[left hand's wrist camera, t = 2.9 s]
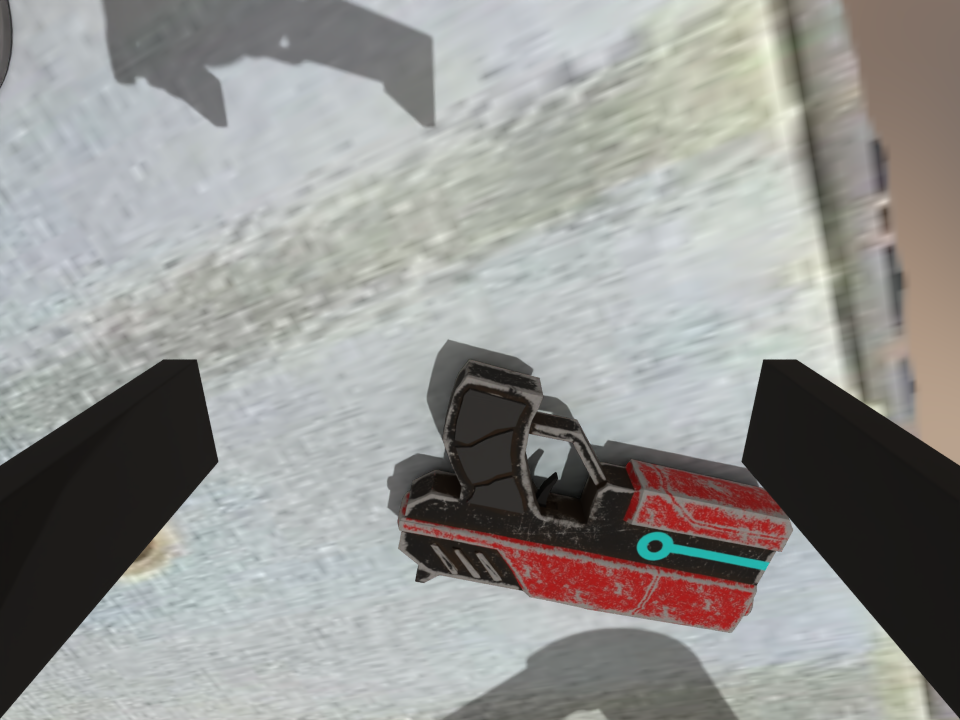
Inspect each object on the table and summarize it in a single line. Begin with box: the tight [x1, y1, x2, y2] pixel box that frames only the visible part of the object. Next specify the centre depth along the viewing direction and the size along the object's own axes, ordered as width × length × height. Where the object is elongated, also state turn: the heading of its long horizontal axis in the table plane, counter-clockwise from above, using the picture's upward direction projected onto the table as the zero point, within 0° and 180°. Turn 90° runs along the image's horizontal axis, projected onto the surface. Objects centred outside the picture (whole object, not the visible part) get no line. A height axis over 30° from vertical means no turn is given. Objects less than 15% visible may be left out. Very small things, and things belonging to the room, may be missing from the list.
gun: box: [397, 359, 793, 633], centre depth 42 cm, size 4×31×19 cm
